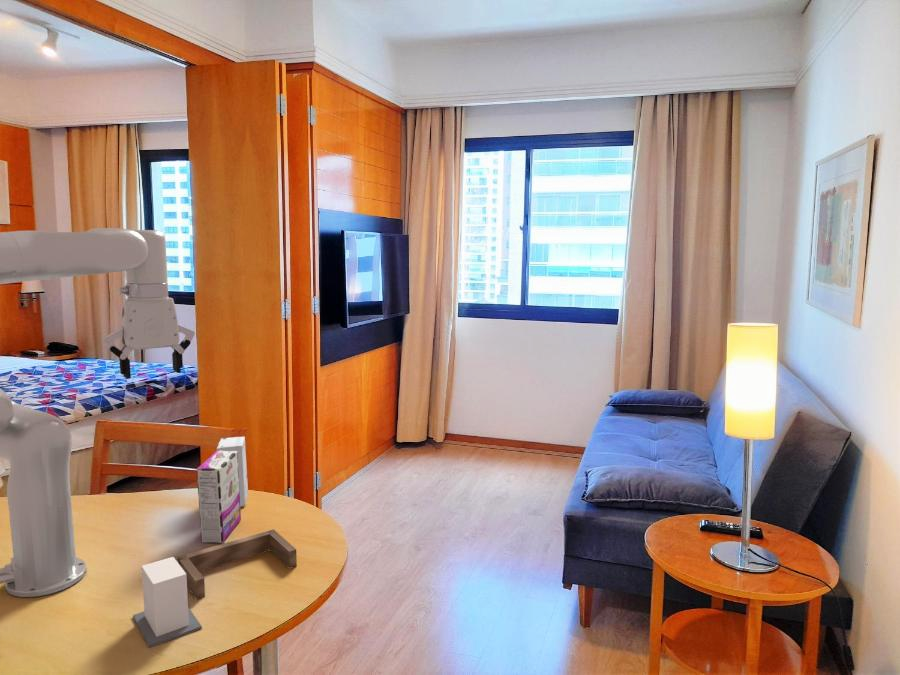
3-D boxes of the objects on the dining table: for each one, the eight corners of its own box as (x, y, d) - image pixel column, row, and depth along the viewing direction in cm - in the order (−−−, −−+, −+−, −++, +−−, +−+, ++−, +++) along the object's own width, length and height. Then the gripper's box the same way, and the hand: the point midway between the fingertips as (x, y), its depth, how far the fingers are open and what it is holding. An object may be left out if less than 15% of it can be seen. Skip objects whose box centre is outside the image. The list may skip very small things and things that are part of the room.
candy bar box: (219, 519, 144) (216, 449, 141) (241, 520, 144) (239, 450, 141) (199, 543, 133) (195, 468, 130) (223, 544, 133) (220, 468, 130)
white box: (156, 636, 102) (153, 584, 100) (144, 616, 107) (141, 565, 106) (189, 625, 105) (186, 574, 103) (175, 605, 110) (173, 556, 109)
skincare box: (245, 507, 150) (243, 446, 148) (218, 509, 149) (215, 447, 147) (248, 493, 159) (246, 435, 156) (222, 494, 157) (220, 436, 155)
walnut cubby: (196, 599, 113) (195, 580, 112) (178, 574, 121) (177, 556, 120) (296, 566, 125) (296, 549, 124) (274, 545, 133) (273, 529, 132)
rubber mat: (149, 647, 100) (149, 645, 100) (133, 617, 107) (133, 614, 107) (201, 628, 105) (201, 626, 105) (182, 600, 112) (182, 598, 112)
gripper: (104, 295, 122) (110, 383, 124) (197, 291, 132) (201, 372, 135) (96, 292, 127) (101, 376, 130) (186, 288, 138) (190, 366, 141)
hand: (152, 374), depth 133 cm, fingers open, 9 cm apart
